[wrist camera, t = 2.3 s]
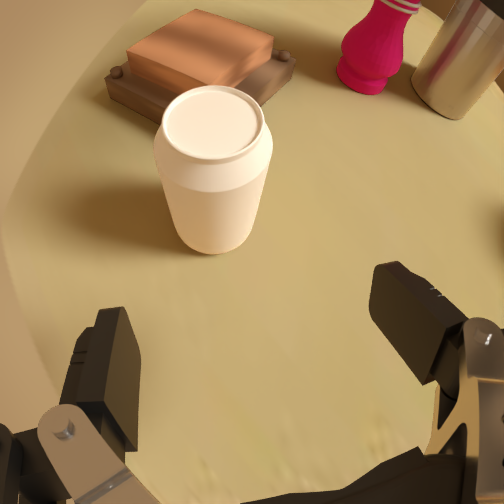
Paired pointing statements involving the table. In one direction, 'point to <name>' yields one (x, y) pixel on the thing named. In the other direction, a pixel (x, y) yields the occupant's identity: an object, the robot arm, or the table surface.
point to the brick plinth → (163, 98)
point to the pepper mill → (375, 46)
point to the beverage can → (213, 165)
